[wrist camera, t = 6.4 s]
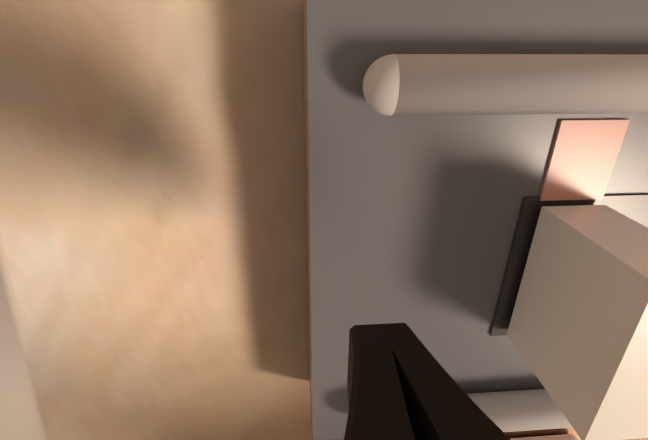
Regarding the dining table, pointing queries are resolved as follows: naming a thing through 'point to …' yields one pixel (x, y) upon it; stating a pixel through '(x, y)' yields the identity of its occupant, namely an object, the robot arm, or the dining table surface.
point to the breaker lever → (588, 318)
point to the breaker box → (447, 182)
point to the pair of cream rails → (498, 99)
